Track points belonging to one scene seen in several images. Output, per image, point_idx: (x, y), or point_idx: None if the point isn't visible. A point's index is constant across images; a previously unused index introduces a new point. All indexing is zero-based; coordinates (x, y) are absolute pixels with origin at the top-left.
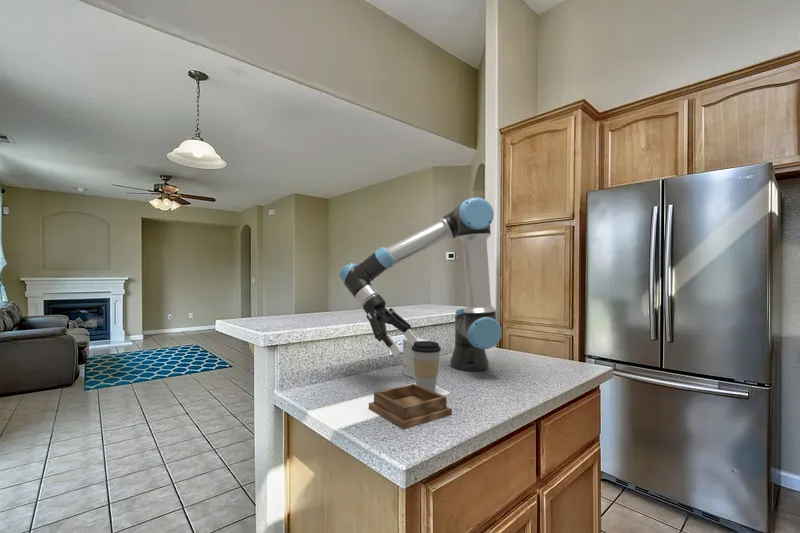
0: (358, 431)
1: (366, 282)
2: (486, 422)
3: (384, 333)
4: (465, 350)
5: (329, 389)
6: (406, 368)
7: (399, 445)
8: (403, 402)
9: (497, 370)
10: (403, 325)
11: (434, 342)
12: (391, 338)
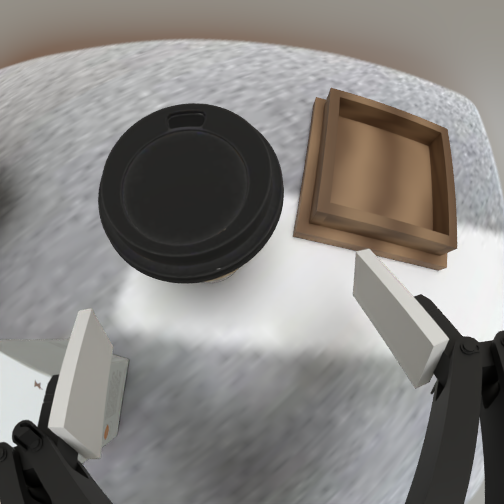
0: (491, 201)
1: None
2: (290, 54)
3: (479, 346)
4: None
5: (415, 464)
6: (110, 421)
7: (461, 124)
8: (381, 200)
9: None
10: (76, 481)
11: (123, 152)
12: (420, 314)
